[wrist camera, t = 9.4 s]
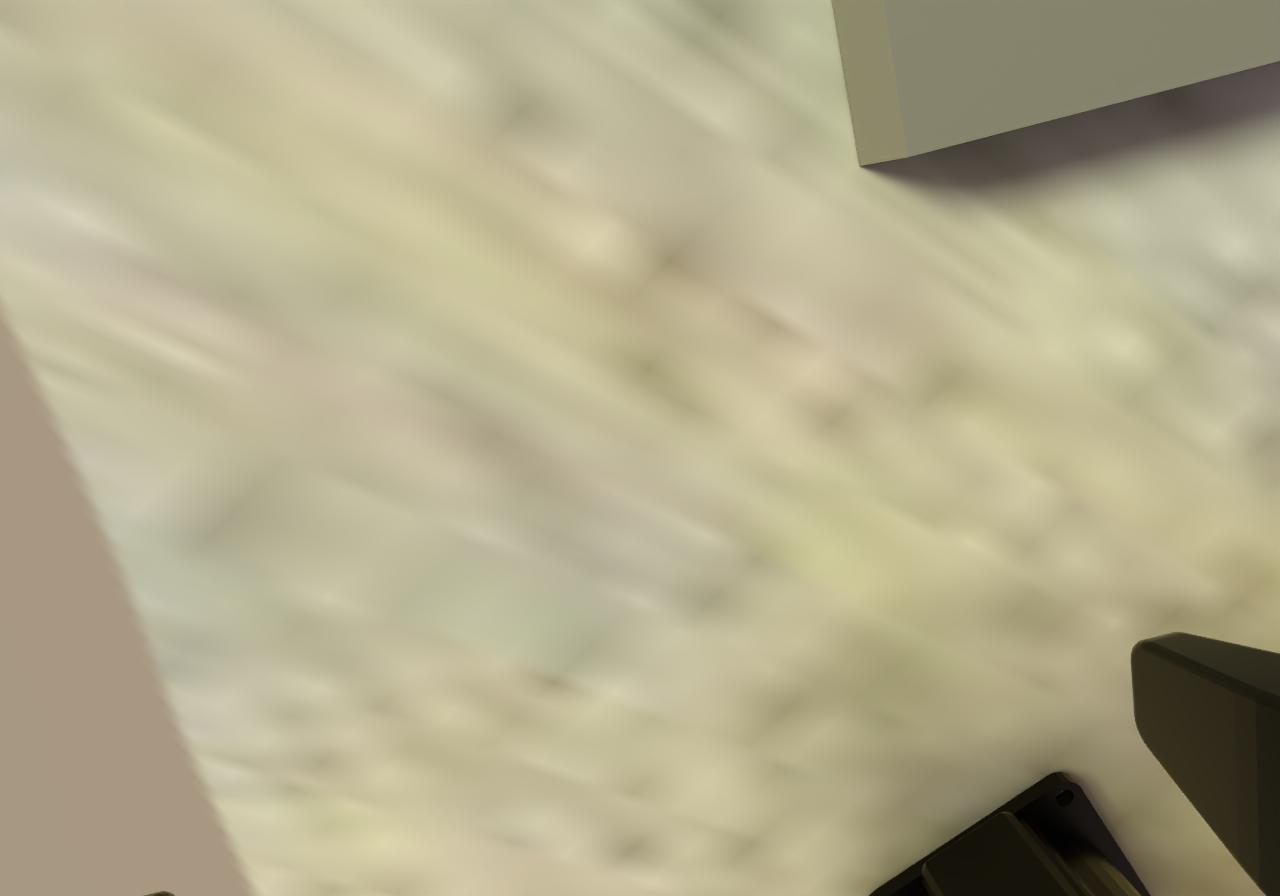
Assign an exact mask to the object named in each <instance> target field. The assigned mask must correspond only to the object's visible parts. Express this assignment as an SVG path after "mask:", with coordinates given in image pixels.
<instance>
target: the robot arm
mask: <svg viewBox="0 0 1280 896" xmlns="http://www.w3.org/2000/svg"><path fill="white" fill-rule="evenodd" d="M1131 671H1132V686H1133V701H1134V716H1135V722H1136V725H1137V729H1138V731H1139V733H1140V736H1141V737H1142V739H1143V741H1144V743H1145V744H1146V746H1147V747H1148V748H1149V750H1150V751H1151V752H1152V753H1153V755H1154V756H1155V757H1156V759H1157V760H1158V761H1159V762H1160V764H1161V765H1162V766H1163V768H1164V769H1165V770H1166V771H1167V773H1168V774H1169V775H1170V776H1171V778H1172V779H1173V780H1174V782H1175V783H1176V784H1177V785H1178V787H1179V788H1180V789H1181V790H1182V792H1183V793H1184V794H1185V796H1186V797H1187V798H1188V799H1189V801H1190V802H1191V803H1192V804H1193V806H1194V807H1195V808H1196V810H1197V811H1198V812H1199V813H1200V815H1201V816H1202V817H1203V818H1204V820H1205V821H1206V822H1207V824H1208V825H1209V826H1210V827H1211V829H1212V830H1213V831H1214V832H1215V834H1216V835H1217V836H1218V838H1219V839H1220V840H1221V841H1222V843H1223V844H1224V845H1225V846H1226V848H1227V849H1228V850H1229V852H1230V853H1231V854H1232V855H1233V857H1234V858H1235V859H1236V860H1237V862H1238V863H1239V864H1240V865H1241V867H1242V868H1243V869H1244V870H1245V871H1246V873H1247V874H1248V875H1249V876H1250V877H1251V879H1252V880H1253V881H1254V882H1255V883H1256V885H1257V886H1258V887H1259V888H1260V889H1261V890H1262V892H1263V893H1264V894H1265V895H1266V896H1280V654H1279V653H1274V652H1270V651H1265V650H1261V649H1256V648H1252V647H1247V646H1242V645H1238V644H1233V643H1229V642H1224V641H1220V640H1215V639H1210V638H1206V637H1201V636H1197V635H1192V634H1188V633H1182V632H1173V633H1168V634H1165V635H1161V636H1157V637H1153V638H1149V639H1145V640H1142V641H1139V642H1138V643H1137V644H1136V645H1135V646H1134V647H1133V649H1132V652H1131ZM1063 790H1064V792H1063V793H1062V794H1061V795H1059V796H1057V794H1058V793H1059V792H1060V791H1063ZM145 896H174V895H173V894H172V893H170V892H166V891H161V892H157V893H153V894H149V895H145ZM869 896H1150V894H1149V893H1148V891H1147V890H1146V888H1145V886H1144V885H1143V883H1142V882H1141V880H1140V879H1139V877H1138V876H1137V874H1136V872H1135V871H1134V869H1133V868H1132V866H1131V865H1130V863H1129V862H1128V860H1127V859H1126V857H1125V855H1124V854H1123V852H1122V851H1121V849H1120V848H1119V846H1118V845H1117V843H1116V841H1115V840H1114V838H1113V837H1112V835H1111V834H1110V832H1109V831H1108V829H1107V827H1106V826H1105V824H1104V823H1103V821H1102V820H1101V818H1100V817H1099V815H1098V813H1097V812H1096V810H1095V809H1094V807H1093V806H1092V804H1091V803H1090V801H1089V799H1088V798H1087V796H1086V795H1085V793H1084V792H1083V790H1082V789H1081V787H1080V786H1079V785H1078V784H1077V783H1076V782H1075V781H1074V780H1073V779H1072V778H1071V777H1070V776H1069V775H1068V774H1066V773H1063V772H1056V773H1052V774H1050V775H1048V776H1046V777H1045V778H1043V779H1042V780H1040V781H1039V782H1037V783H1036V784H1034V785H1033V786H1031V787H1030V788H1028V789H1027V790H1025V791H1024V792H1022V793H1021V794H1019V795H1018V796H1016V797H1015V798H1013V799H1012V800H1010V801H1009V802H1007V803H1006V804H1004V805H1003V806H1001V807H1000V808H998V809H997V810H995V811H994V812H992V813H991V814H989V815H988V816H986V817H985V818H983V819H982V820H980V821H979V822H977V823H976V824H974V825H973V826H971V827H970V828H968V829H967V830H965V831H964V832H962V833H961V834H959V835H958V836H956V837H955V838H953V839H952V840H950V841H949V842H947V843H945V844H944V845H942V846H941V847H939V848H938V849H936V850H935V851H933V852H932V853H930V854H929V855H927V856H926V857H924V858H923V859H921V860H920V861H918V862H917V863H915V864H914V865H912V866H911V867H909V868H908V869H906V870H905V871H903V872H902V873H900V874H899V875H897V876H896V877H894V878H893V879H891V880H890V881H888V882H887V883H885V884H884V885H882V886H881V887H879V888H878V889H876V890H875V891H874V892H873V893H871V894H870V895H869Z"/></svg>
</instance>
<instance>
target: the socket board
mask: <svg viewBox="0 0 1280 896" xmlns="http://www.w3.org/2000/svg"><path fill="white" fill-rule="evenodd" d="M832 5H833V11H834V17H835V23H836V29H837V35H838V41H839V47H840V53H841V59H842V65H843V71H844V77H845V83H846V89H847V95H848V101H849V107H850V113H851V119H852V125H853V131H854V137H855V143H856V149H857V155H858V161H859V166H863V165H868V164H874V163H879V162H885V161H890V160H896V159H901V158H907V157H911V156H915V155H919V154H922V153H926V152H930V151H934V150H938V149H942V148H946V147H949V146H953V145H957V144H961V143H965V142H969V141H973V140H977V139H980V138H984V137H988V136H992V135H996V134H1000V133H1004V132H1007V131H1011V130H1015V129H1019V128H1023V127H1027V126H1031V125H1035V124H1038V123H1042V122H1046V121H1050V120H1054V119H1058V118H1062V117H1065V116H1069V115H1073V114H1077V113H1081V112H1085V111H1089V110H1092V109H1096V108H1100V107H1104V106H1108V105H1112V104H1116V103H1120V102H1123V101H1127V100H1131V99H1135V98H1139V97H1143V96H1147V95H1150V94H1154V93H1158V92H1162V91H1166V90H1170V89H1174V88H1177V87H1181V86H1185V85H1189V84H1193V83H1197V82H1201V81H1205V80H1208V79H1212V78H1216V77H1220V76H1224V75H1228V74H1232V73H1235V72H1239V71H1243V70H1247V69H1251V68H1255V67H1259V66H1263V65H1266V64H1270V63H1274V62H1278V61H1280V0H832Z"/></svg>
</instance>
